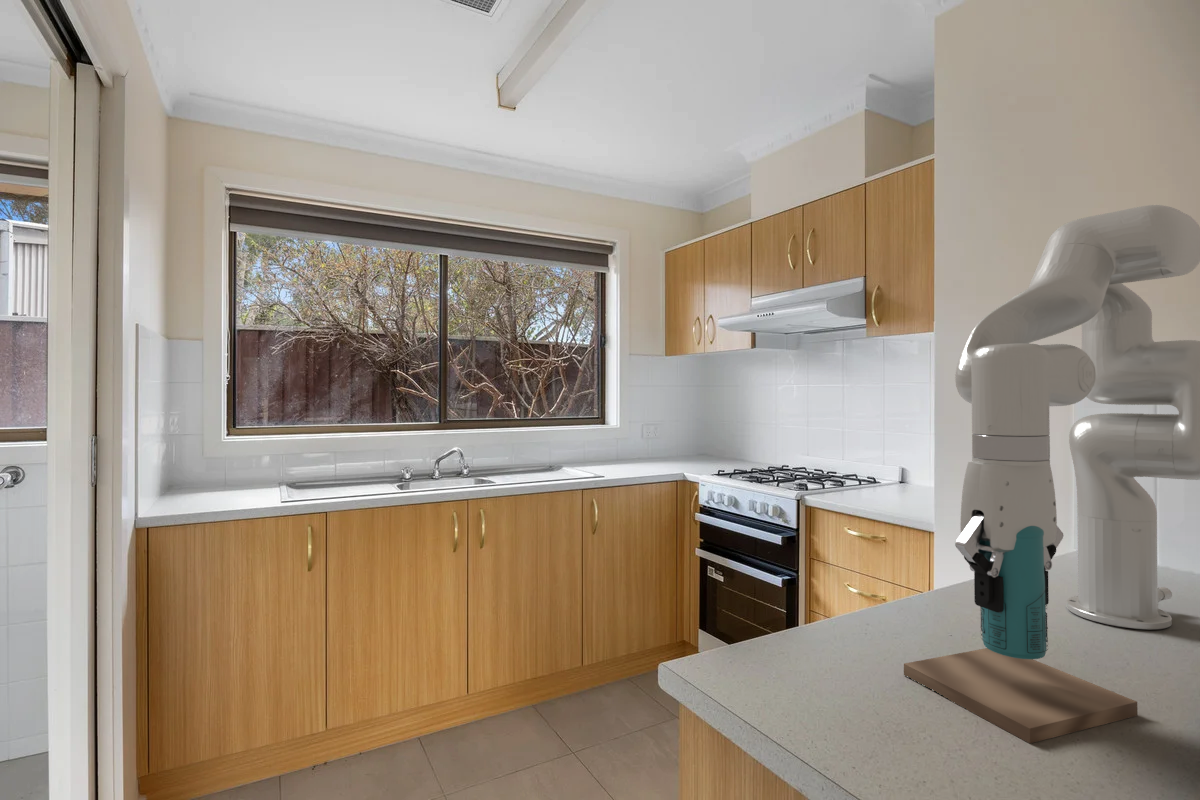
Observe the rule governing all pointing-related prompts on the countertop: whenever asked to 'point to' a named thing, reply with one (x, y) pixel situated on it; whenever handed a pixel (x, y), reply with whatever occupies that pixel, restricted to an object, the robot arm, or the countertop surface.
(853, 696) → the countertop surface
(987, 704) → the walnut board
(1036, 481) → the robot arm
